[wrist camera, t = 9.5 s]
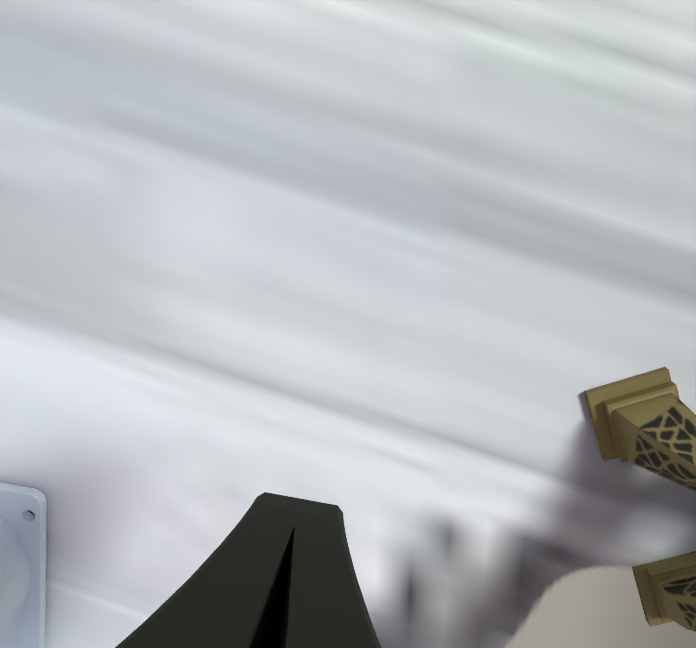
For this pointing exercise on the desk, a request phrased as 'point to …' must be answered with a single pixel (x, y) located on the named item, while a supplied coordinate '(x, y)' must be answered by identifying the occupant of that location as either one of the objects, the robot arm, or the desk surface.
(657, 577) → the eiffel tower
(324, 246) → the desk surface
